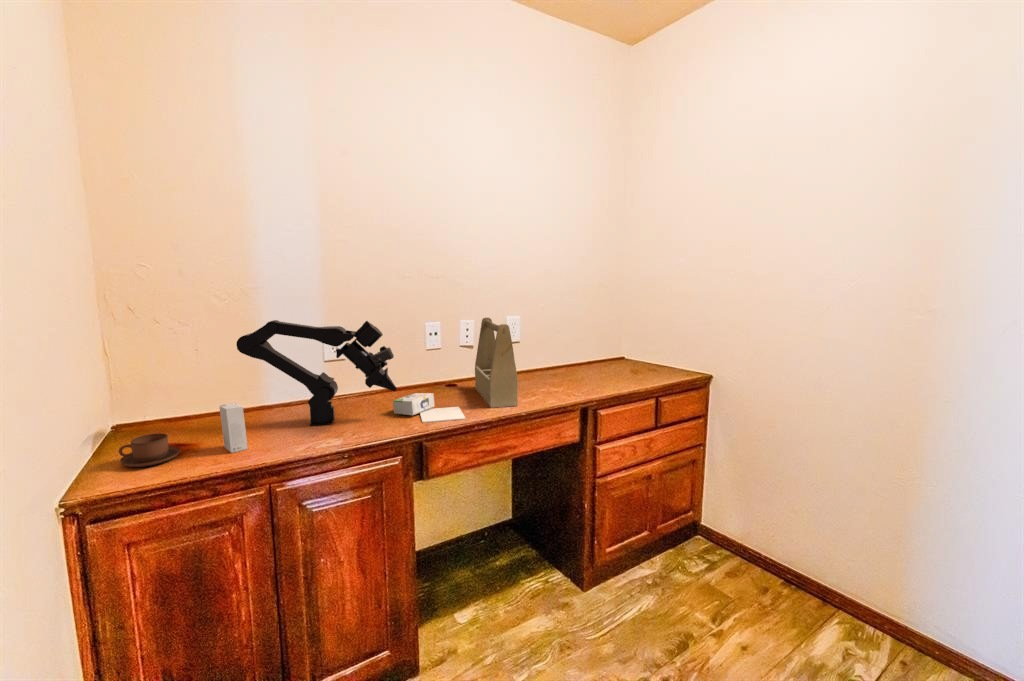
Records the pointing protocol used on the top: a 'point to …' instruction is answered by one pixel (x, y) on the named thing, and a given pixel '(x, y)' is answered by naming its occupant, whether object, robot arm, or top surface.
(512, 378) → the caddy
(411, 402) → the ink box
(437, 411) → the mat
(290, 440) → the top surface
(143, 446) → the cup and saucer
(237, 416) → the skincare box
